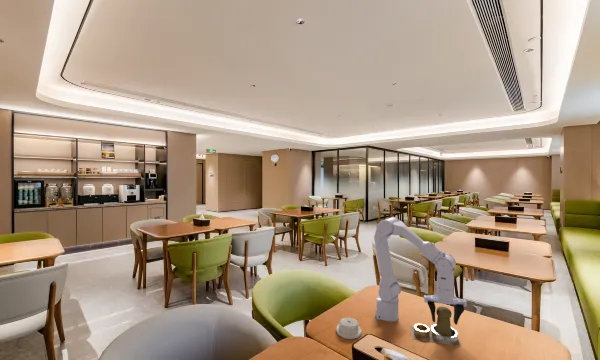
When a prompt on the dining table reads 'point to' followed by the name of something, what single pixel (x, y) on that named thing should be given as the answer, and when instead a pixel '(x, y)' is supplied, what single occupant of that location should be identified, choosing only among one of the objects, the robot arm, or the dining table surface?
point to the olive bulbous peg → (443, 321)
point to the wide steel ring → (444, 339)
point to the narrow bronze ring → (421, 330)
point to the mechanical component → (348, 328)
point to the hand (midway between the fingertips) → (444, 321)
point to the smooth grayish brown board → (428, 338)
